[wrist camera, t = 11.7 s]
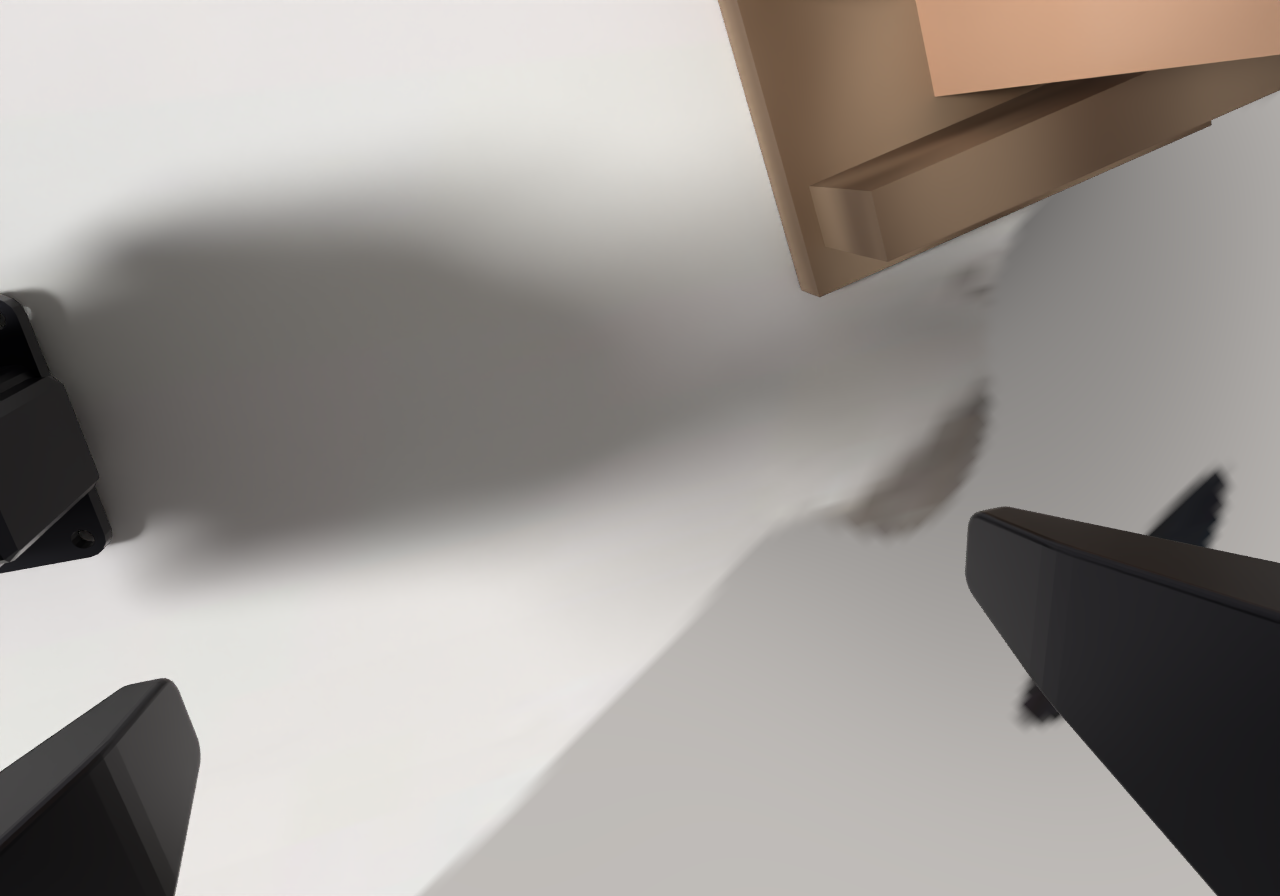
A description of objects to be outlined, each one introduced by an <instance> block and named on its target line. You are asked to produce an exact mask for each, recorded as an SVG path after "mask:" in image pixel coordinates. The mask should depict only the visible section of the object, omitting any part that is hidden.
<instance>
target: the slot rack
mask: <svg viewBox="0 0 1280 896" xmlns="http://www.w3.org/2000/svg"><path fill="white" fill-rule="evenodd" d="M718 2H719V6H720V9H721V13H722V16H723V20H724V23H725V27H726V30H727V34H728V37H729V41H730V44H731V47H732V51H733V54H734V58H735V61H736V65H737V68H738V72H739V75H740V79H741V82H742V86H743V89H744V93H745V96H746V100H747V103H748V107H749V110H750V114H751V117H752V121H753V124H754V127H755V131H756V134H757V138H758V141H759V145H760V148H761V152H762V155H763V159H764V162H765V166H766V169H767V173H768V176H769V180H770V183H771V187H772V190H773V194H774V197H775V201H776V204H777V207H778V211H779V214H780V218H781V221H782V225H783V228H784V232H785V235H786V239H787V242H788V246H789V249H790V253H791V256H792V260H793V263H794V267H795V270H796V274H797V277H798V281H799V284H800V287H801V290H802V291H805V292H807V293H810V294H813V295H815V296H818V297H821V296H824V295H826V294H828V293H830V292H833V291H835V290H837V289H840V288H842V287H844V286H846V285H849V284H851V283H853V282H855V281H858V280H860V279H862V278H865V277H867V276H869V275H871V274H874V273H876V272H878V271H881V270H883V269H885V268H887V267H890V266H892V265H894V264H896V263H899V262H901V261H903V260H906V259H908V258H910V257H912V256H915V255H917V254H919V253H921V252H924V251H926V250H928V249H931V248H933V247H935V246H937V245H940V244H942V243H944V242H947V241H949V240H951V239H953V238H956V237H958V236H960V235H962V234H965V233H967V232H969V231H972V230H974V229H976V228H978V227H981V226H983V225H985V224H988V223H990V222H992V221H994V220H997V219H999V218H1001V217H1003V216H1006V215H1008V214H1010V213H1013V212H1015V211H1017V210H1019V209H1022V208H1024V207H1026V206H1029V205H1031V204H1033V203H1035V202H1038V201H1040V200H1042V199H1044V198H1047V197H1049V196H1051V195H1054V194H1056V193H1058V192H1060V191H1063V190H1065V189H1067V188H1069V187H1072V186H1074V185H1076V184H1079V183H1081V182H1083V181H1085V180H1088V179H1090V178H1092V177H1095V176H1097V175H1099V174H1101V173H1104V172H1106V171H1108V170H1110V169H1113V168H1115V167H1117V166H1120V165H1122V164H1124V163H1126V162H1128V161H1131V160H1133V159H1135V158H1138V157H1140V156H1142V155H1144V154H1147V153H1149V152H1151V151H1154V150H1156V149H1158V148H1161V147H1163V146H1165V145H1167V144H1170V143H1172V142H1174V141H1176V140H1179V139H1181V138H1183V137H1185V136H1188V135H1190V134H1192V133H1195V132H1197V131H1199V130H1202V129H1204V128H1206V127H1208V126H1210V125H1211V120H1213V119H1215V118H1217V117H1220V116H1222V115H1224V114H1226V113H1229V112H1231V111H1233V110H1236V109H1238V108H1240V107H1242V106H1245V105H1247V104H1249V103H1252V102H1254V101H1256V100H1258V99H1261V98H1263V97H1265V96H1267V95H1270V94H1272V93H1274V92H1277V91H1279V90H1280V55H1272V56H1264V57H1256V58H1247V59H1239V60H1231V61H1223V62H1215V63H1207V64H1199V65H1190V66H1182V67H1174V68H1166V69H1158V70H1150V71H1141V72H1133V73H1125V74H1117V75H1109V76H1101V77H1092V78H1084V79H1076V80H1068V81H1060V82H1052V83H1043V84H1035V85H1027V86H1019V87H1011V88H1003V89H994V90H986V91H978V92H970V93H962V94H954V95H945V96H937V97H935V95H934V90H933V85H932V80H931V75H930V70H929V65H928V60H927V55H926V50H925V46H924V41H923V36H922V31H921V26H920V21H919V16H918V11H917V6H916V1H915V0H718Z"/></svg>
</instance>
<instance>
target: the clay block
mask: <svg viewBox="0 0 1280 896" xmlns="http://www.w3.org/2000/svg"><path fill="white" fill-rule="evenodd" d="M915 1H916V6H917V11H918V16H919V21H920V26H921V31H922V36H923V41H924V46H925V50H926V55H927V60H928V65H929V70H930V75H931V80H932V85H933V90H934V95H935V97H937V96H945V95H954V94H962V93H970V92H978V91H986V90H994V89H1003V88H1011V87H1019V86H1027V85H1035V84H1043V83H1052V82H1060V81H1068V80H1076V79H1084V78H1092V77H1101V76H1109V75H1117V74H1125V73H1133V72H1141V71H1150V70H1158V69H1166V68H1174V67H1182V66H1190V65H1199V64H1207V63H1215V62H1223V61H1231V60H1239V59H1247V58H1256V57H1264V56H1272V55H1280V0H915Z"/></svg>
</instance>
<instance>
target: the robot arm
mask: <svg viewBox="0 0 1280 896" xmlns="http://www.w3.org/2000/svg"><path fill="white" fill-rule="evenodd" d="M0 312H1V313H2V314H3V316H4V317H5V322H6V324H5V326H4V327H0V573H5V572H11V571H16V570H22V569H27V568H33V567H38V566H44V565H49V564H55V563H60V562H66V561H71V560H77V559H83V558H88V557H92V556H95V555H97V554H99V553H100V552H101V551H102V550H103V549H104V548H105V547H106V546H107V545H108V544H109V542H110V540H111V538H112V530H111V527H110V524H109V521H108V519H107V516H106V514H105V511H104V509H103V506H102V504H101V501H100V499H99V496H98V494H97V491H96V489H95V486H94V485H95V484H96V482H97V481H98V479H99V475H98V472H97V469H96V467H95V464H94V462H93V459H92V457H91V454H90V451H89V449H88V446H87V444H86V441H85V439H84V436H83V434H82V431H81V428H80V426H79V423H78V421H77V418H76V416H75V413H74V411H73V408H72V405H71V403H70V400H69V398H68V395H67V393H66V390H65V388H64V385H63V384H62V383H60V382H59V381H58V380H56V379H55V378H53V377H52V376H51V375H50V372H49V370H48V367H47V365H46V362H45V360H44V357H43V355H42V352H41V349H40V347H39V344H38V342H37V339H36V337H35V334H34V332H33V329H32V327H31V324H30V322H29V319H28V317H27V314H26V312H25V310H24V309H23V307H22V306H21V304H19V303H18V302H17V301H15V300H14V299H13V298H11V297H8V296H5V295H3V294H0ZM78 530H86V531H88V532H90V533H91V534H92V535H93V536H94V541H86V540H84V539H82V538H81V537H80V536H79V534H78ZM965 575H966V581H967V584H968V587H969V589H970V591H971V593H972V594H973V596H974V598H975V599H976V601H977V602H978V603H979V605H980V606H981V608H982V609H983V610H984V612H985V613H986V615H987V616H988V617H989V619H990V620H991V622H992V623H993V624H994V626H995V628H996V629H997V630H998V632H999V633H1000V634H1001V636H1002V637H1003V639H1004V640H1005V642H1006V643H1007V644H1008V646H1009V647H1010V649H1011V650H1012V652H1013V653H1014V654H1015V656H1016V657H1017V659H1018V660H1019V662H1020V663H1021V664H1022V666H1023V667H1024V669H1025V670H1026V672H1027V673H1028V674H1029V676H1030V677H1031V678H1032V680H1033V681H1034V682H1035V684H1036V685H1037V686H1038V688H1039V689H1040V690H1041V692H1042V693H1043V694H1044V695H1045V697H1046V698H1047V699H1048V700H1049V701H1050V703H1051V704H1052V705H1053V706H1054V708H1055V709H1056V710H1057V711H1058V712H1059V713H1060V715H1061V716H1062V717H1063V718H1064V719H1065V720H1066V721H1067V723H1068V724H1069V725H1070V726H1071V727H1072V728H1073V730H1074V731H1075V732H1076V733H1077V734H1078V735H1079V737H1080V738H1081V739H1082V740H1083V741H1084V742H1085V743H1086V745H1087V746H1088V747H1089V748H1090V749H1091V750H1092V751H1093V753H1094V754H1095V755H1096V756H1097V757H1098V758H1099V760H1100V761H1101V762H1102V763H1103V764H1104V765H1105V766H1106V768H1107V769H1108V770H1109V771H1110V772H1111V774H1112V775H1113V776H1114V777H1115V778H1116V779H1117V780H1118V782H1119V783H1120V784H1121V785H1122V786H1123V787H1124V789H1125V790H1126V791H1127V792H1128V793H1129V794H1130V796H1131V797H1132V798H1133V799H1134V800H1135V801H1136V802H1137V804H1138V805H1139V806H1140V807H1141V808H1142V809H1143V811H1144V812H1145V813H1146V814H1147V815H1148V816H1149V817H1150V819H1151V820H1152V821H1153V822H1154V823H1155V824H1156V826H1157V827H1158V828H1159V829H1160V830H1161V831H1162V832H1163V834H1164V835H1165V836H1166V837H1167V838H1168V839H1169V841H1170V842H1171V843H1172V844H1173V845H1174V846H1175V848H1176V849H1177V850H1178V851H1179V852H1180V853H1181V854H1182V856H1183V857H1184V858H1185V859H1186V860H1187V861H1188V863H1189V864H1190V865H1191V866H1192V867H1193V868H1194V870H1195V871H1196V872H1197V873H1198V874H1199V875H1200V876H1201V878H1202V879H1203V880H1204V881H1205V882H1206V883H1207V885H1208V886H1209V887H1210V888H1211V889H1212V890H1213V891H1214V893H1215V894H1216V895H1217V896H1280V563H1277V562H1272V561H1267V560H1263V559H1258V558H1252V557H1248V556H1243V555H1238V554H1234V553H1229V552H1224V551H1219V550H1214V549H1210V548H1205V547H1200V546H1195V545H1190V544H1186V543H1181V542H1176V541H1171V540H1166V539H1161V538H1157V537H1152V536H1147V535H1142V534H1137V533H1132V532H1128V531H1122V530H1118V529H1113V528H1108V527H1103V526H1099V525H1094V524H1089V523H1084V522H1079V521H1074V520H1070V519H1065V518H1060V517H1055V516H1051V515H1045V514H1041V513H1036V512H1031V511H1027V510H1021V509H1016V508H1012V507H998V508H993V509H988V510H983V511H979V512H976V513H975V514H974V515H973V516H972V517H971V518H970V520H969V524H968V533H967V551H966V568H965ZM199 767H200V746H199V741H198V738H197V735H196V733H195V730H194V728H193V725H192V723H191V720H190V718H189V715H188V713H187V710H186V708H185V705H184V702H183V700H182V697H181V695H180V692H179V690H178V688H177V686H176V685H175V684H174V683H173V681H171V680H169V679H166V678H160V679H155V680H150V681H145V682H140V683H135V684H130V685H127V686H124V687H122V688H121V689H119V690H118V691H116V692H115V693H113V694H112V695H110V696H109V697H107V698H106V699H105V700H103V701H102V702H100V703H99V704H97V705H96V706H94V707H93V708H92V709H90V710H89V711H87V712H86V713H84V714H83V715H81V716H80V717H79V718H77V719H76V720H74V721H73V722H71V723H70V724H68V725H67V726H66V727H64V728H63V729H61V730H60V731H58V732H57V733H55V734H54V735H53V736H51V737H50V738H48V739H47V740H45V741H44V742H42V743H41V744H40V745H38V746H37V747H35V748H34V749H32V750H31V751H29V752H28V753H27V754H25V755H24V756H22V757H21V758H19V759H18V760H16V761H15V762H14V763H12V764H11V765H9V766H8V767H6V768H5V769H4V770H2V771H1V772H0V896H175V891H176V887H177V882H178V877H179V872H180V867H181V861H182V856H183V851H184V846H185V840H186V835H187V830H188V825H189V819H190V814H191V809H192V804H193V798H194V793H195V788H196V783H197V777H198V772H199Z"/></svg>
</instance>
